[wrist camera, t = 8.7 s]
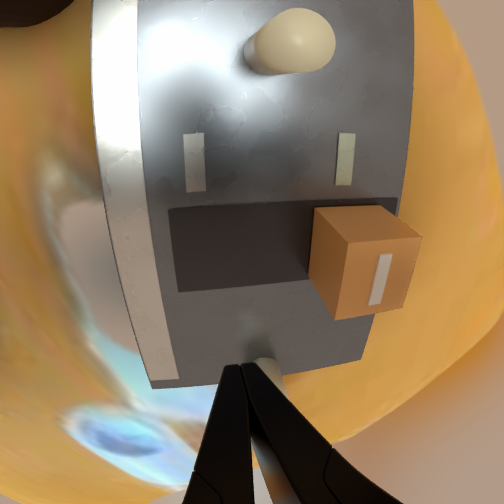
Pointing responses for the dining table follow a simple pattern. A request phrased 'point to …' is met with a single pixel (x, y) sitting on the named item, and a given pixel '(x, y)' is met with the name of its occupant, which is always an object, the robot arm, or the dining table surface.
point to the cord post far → (272, 372)
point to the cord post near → (291, 44)
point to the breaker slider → (361, 259)
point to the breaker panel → (240, 173)
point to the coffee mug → (29, 11)
